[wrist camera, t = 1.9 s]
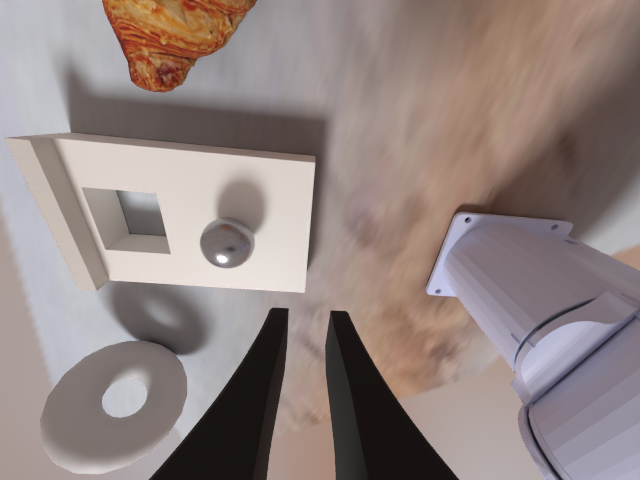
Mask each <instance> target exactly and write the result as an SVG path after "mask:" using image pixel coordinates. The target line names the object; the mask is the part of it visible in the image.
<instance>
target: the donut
mask: <svg viewBox="0 0 640 480" xmlns="http://www.w3.org/2000/svg"><path fill="white" fill-rule="evenodd" d="M130 378H131V379H137V380H139V381H141V382H142V383H143V384H144V385H145V387H146V390H147V400H146V402H145V404H144V405H143V406H142V408H141V409H140V410H139V411H137V412H136V413H135V414H133V415H131V416H128V417H122V418H118V417H112V416H110V415H109V414H107V413H106V412H105V410H104V409H103V406H102V397H103V395H104V393H105V391H106V390H107V389H108V388H109V387H110V386H111V385H112V384H114V383H115V382H117V381H120V380H123V379H130ZM186 397H187V377H186V374H185V371H184V368H183V365H182V363H181V361H180V360H179V359H178V358H177V356H176V355H175V354H174V353H173V352H172V351H170V350H169V349H167V348H165V347H164V346H162V345H160V344H156V343H152V342H148V341H126V342H122V343H118V344H114V345H110V346H106V347H104V348H102V349H100V350H98V351H96V352H94V353H92V354H90V355H88V356H86V357H85V358H83V359H82V360H81V361H80V362H79V363H77V364H76V365H75V366H74V367H73V368H71V369H70V370H69V371H68V372H67V373H65V374H64V375H63V377H62V378H61V380H60V381H59V382H58V384H57V385H56V386H55V388H54V389H53V390H52V392H51V393H50V395H49V396H48V398H47V401H46V404H45V407H44V410H43V413H42V416H41V419H40V428H41V441H42V446H43V447H44V449H45V451H46V452H47V453H48V455H49V456H50V458H51V460H52V461H53V462H54V463H55V464H57V465H59V466H61V467H63V468H65V469H67V470H69V471H71V472H73V473H81V474H102V473H105V472H109V471H112V470H115V469H119V468H122V467H125V466H128V465H129V464H131V463H133V462H135V461H136V460H138V459H139V458H141V457H143V456H144V455H146V454H148V453H149V452H151V451H152V450H153V449H154V448H155V447H156V446H157V445H158V444H159V443H160V442H161V441H162V440H163V439H164V438H165V437H166V436H167V435H168V434H169V432H170V431H171V429H172V428H173V426H174V424H175V423H176V421H177V419H178V418H179V416H180V415H181V413H182V410H183V406H184V403H185V400H186Z"/></svg>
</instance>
